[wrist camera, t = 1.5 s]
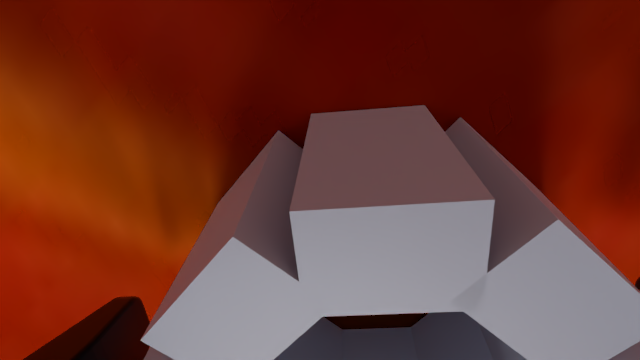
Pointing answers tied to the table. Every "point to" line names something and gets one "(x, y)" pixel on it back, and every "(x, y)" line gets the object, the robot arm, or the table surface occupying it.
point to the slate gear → (392, 256)
